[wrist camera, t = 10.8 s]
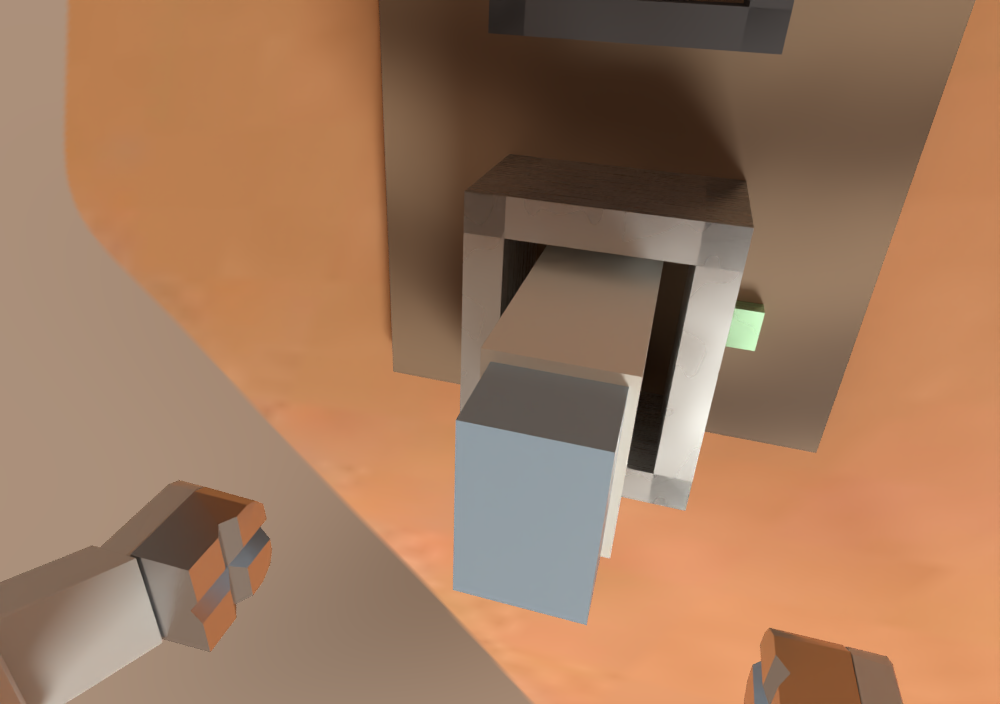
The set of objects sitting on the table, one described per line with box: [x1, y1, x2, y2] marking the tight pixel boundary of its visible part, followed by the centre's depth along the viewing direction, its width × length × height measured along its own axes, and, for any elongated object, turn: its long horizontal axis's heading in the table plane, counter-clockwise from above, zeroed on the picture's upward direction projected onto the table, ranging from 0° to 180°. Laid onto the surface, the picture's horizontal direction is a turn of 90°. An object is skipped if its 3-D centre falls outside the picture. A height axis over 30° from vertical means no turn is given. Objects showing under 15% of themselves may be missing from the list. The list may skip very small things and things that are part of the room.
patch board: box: [379, 0, 975, 453], centre depth 17 cm, size 20×14×1 cm
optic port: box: [460, 154, 765, 511], centre depth 18 cm, size 8×8×4 cm
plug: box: [453, 245, 664, 625], centre depth 16 cm, size 4×3×10 cm, turn 177°
